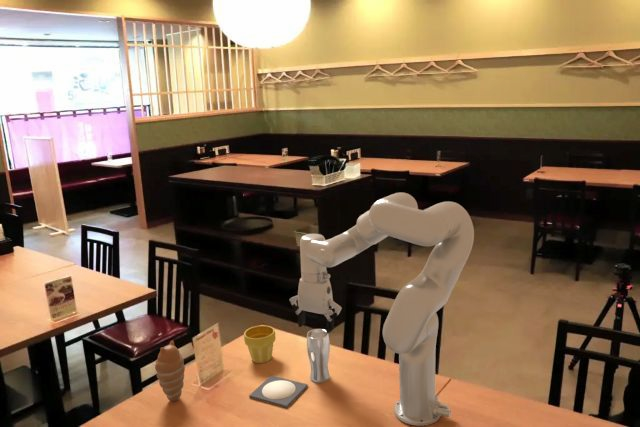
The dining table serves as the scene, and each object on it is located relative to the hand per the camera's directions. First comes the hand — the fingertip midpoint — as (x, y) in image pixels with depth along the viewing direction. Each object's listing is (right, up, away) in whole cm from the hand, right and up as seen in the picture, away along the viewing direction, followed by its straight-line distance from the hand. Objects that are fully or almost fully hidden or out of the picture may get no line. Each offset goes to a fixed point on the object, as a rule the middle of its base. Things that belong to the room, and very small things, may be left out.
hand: (315, 328), depth 161 cm
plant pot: (-18, -14, +17) cm, 29 cm away
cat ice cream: (-42, -20, -4) cm, 47 cm away
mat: (-11, -18, -3) cm, 22 cm away
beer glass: (+1, -16, +4) cm, 17 cm away
